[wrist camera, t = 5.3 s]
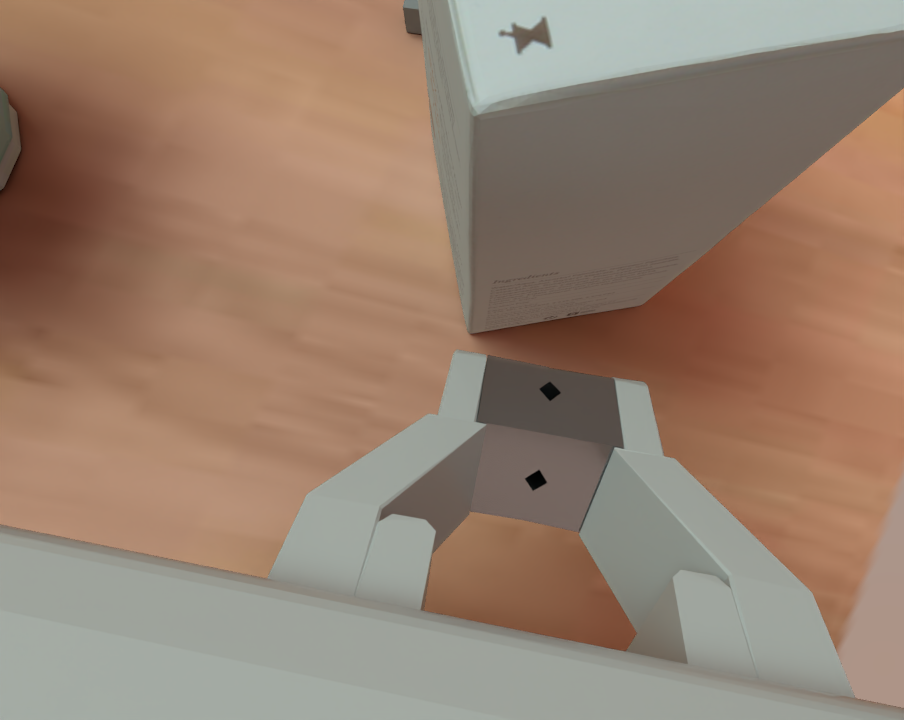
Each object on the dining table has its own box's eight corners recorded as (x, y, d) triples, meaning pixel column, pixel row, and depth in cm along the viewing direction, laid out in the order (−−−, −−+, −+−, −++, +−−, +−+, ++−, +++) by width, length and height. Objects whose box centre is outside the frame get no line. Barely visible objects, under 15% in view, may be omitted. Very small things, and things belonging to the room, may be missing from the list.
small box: (645, 307, 19) (1013, 25, 6) (465, 338, 19) (459, 120, 6) (597, 99, 20) (821, -499, 7) (429, 127, 20) (361, -417, 7)
